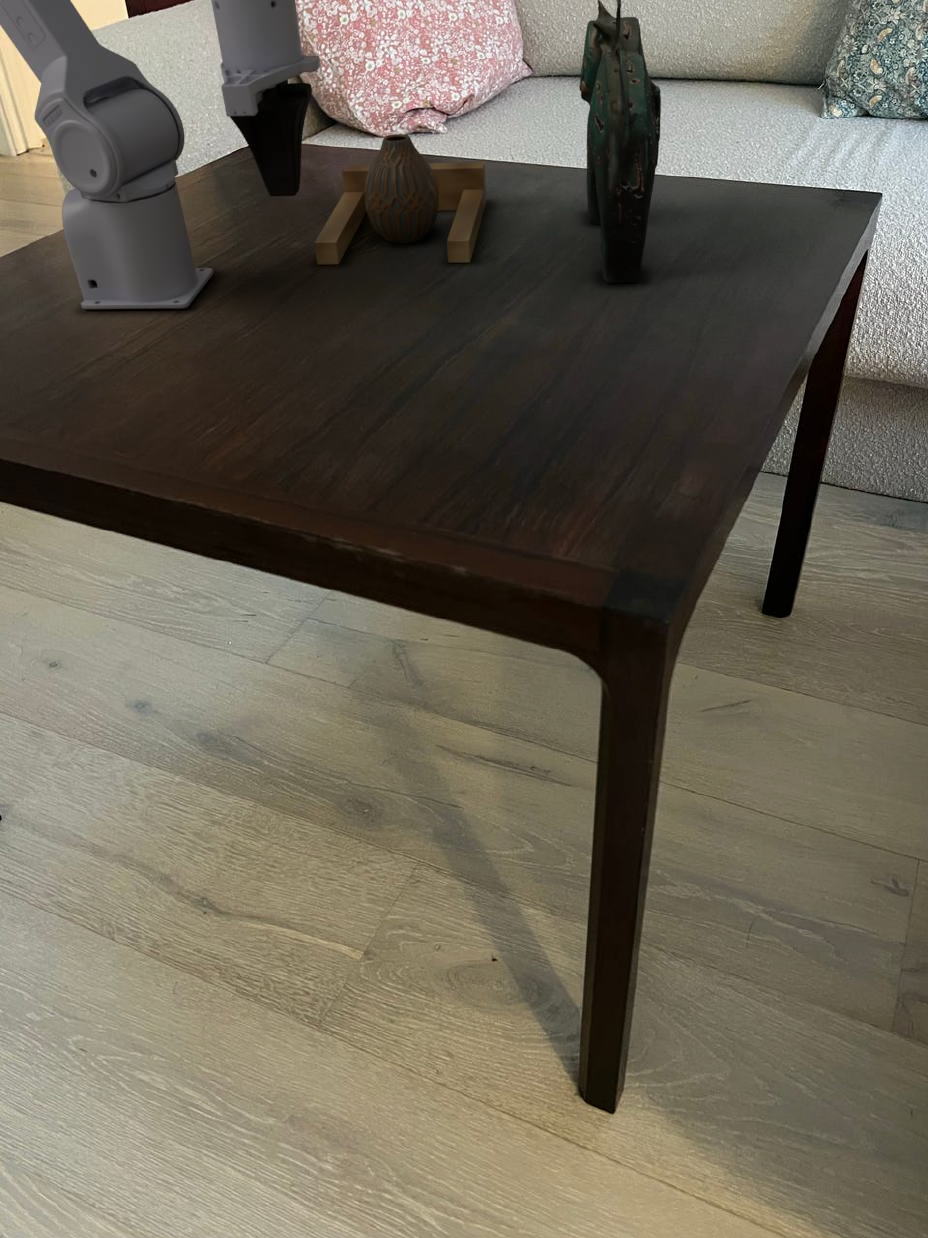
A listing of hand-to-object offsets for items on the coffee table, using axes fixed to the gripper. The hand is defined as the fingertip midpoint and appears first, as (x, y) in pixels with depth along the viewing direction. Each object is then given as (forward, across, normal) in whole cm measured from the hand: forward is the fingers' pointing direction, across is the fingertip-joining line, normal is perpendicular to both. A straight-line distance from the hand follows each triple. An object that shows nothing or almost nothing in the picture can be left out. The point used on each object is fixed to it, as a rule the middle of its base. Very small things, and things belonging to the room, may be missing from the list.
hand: (284, 193), depth 78 cm
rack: (+9, +17, -6) cm, 20 cm away
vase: (+10, +17, -6) cm, 20 cm away
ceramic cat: (+10, +14, -26) cm, 31 cm away
